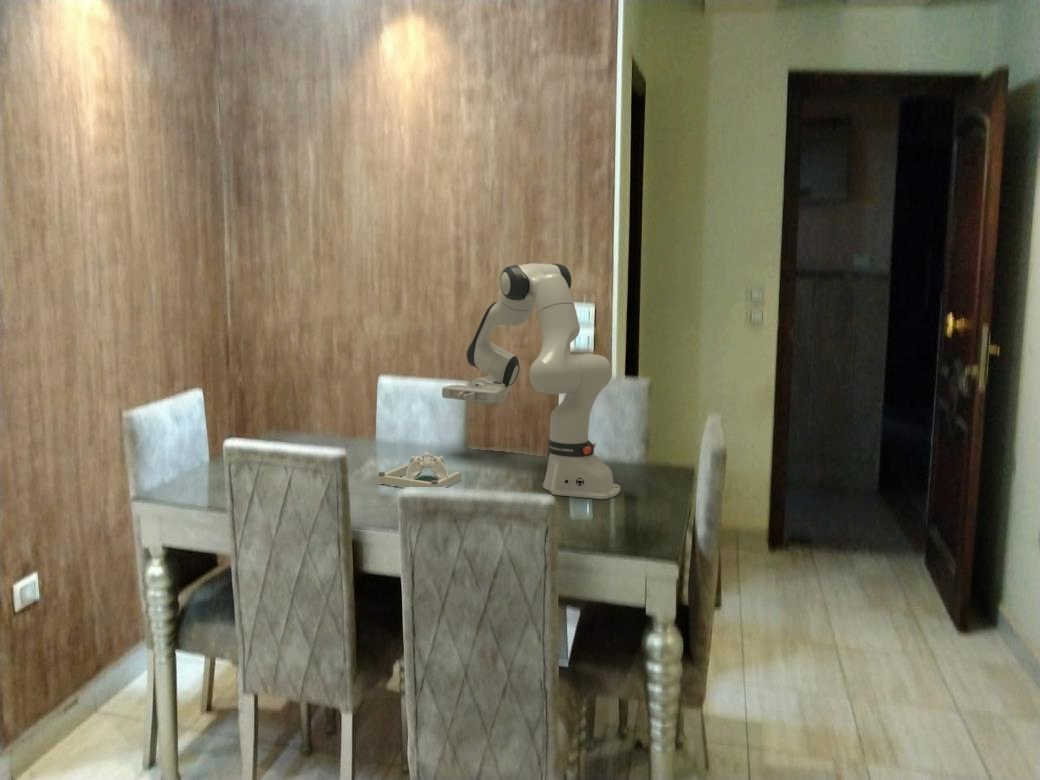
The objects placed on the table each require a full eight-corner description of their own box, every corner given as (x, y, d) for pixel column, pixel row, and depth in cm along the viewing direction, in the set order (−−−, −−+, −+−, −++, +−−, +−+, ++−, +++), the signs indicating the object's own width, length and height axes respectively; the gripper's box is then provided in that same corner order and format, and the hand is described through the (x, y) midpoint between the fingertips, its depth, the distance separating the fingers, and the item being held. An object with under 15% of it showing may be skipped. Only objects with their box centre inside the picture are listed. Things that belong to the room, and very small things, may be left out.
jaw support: (448, 464, 274) (448, 449, 266) (448, 490, 269) (448, 475, 261) (408, 465, 273) (407, 449, 265) (407, 491, 268) (406, 476, 260)
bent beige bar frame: (461, 480, 268) (461, 469, 268) (435, 493, 254) (435, 482, 254) (405, 471, 276) (405, 461, 276) (377, 484, 262) (377, 473, 262)
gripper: (453, 379, 300) (432, 384, 288) (509, 384, 292) (490, 390, 280) (453, 397, 301) (432, 404, 289) (509, 403, 293) (490, 410, 281)
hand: (461, 397), depth 284 cm, fingers closed
